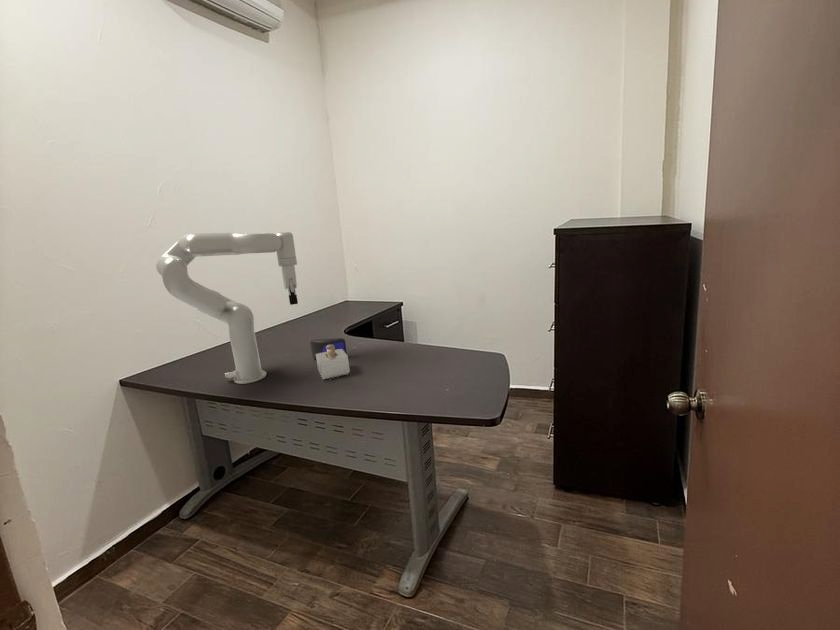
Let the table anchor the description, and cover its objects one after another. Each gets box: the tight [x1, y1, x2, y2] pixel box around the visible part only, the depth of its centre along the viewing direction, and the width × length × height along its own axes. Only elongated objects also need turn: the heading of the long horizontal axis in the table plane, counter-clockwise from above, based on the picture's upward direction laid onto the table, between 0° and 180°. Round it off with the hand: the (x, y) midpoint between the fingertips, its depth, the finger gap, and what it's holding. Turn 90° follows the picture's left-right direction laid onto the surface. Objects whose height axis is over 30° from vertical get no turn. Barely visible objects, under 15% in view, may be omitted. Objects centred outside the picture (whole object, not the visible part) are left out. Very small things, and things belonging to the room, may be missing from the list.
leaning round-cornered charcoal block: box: [309, 337, 348, 361], centre depth 186 cm, size 16×5×9 cm, turn 84°
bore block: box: [316, 349, 351, 380], centre depth 169 cm, size 11×11×8 cm
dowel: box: [326, 345, 336, 357], centre depth 168 cm, size 3×3×12 cm
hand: (293, 303), depth 180 cm, fingers closed
